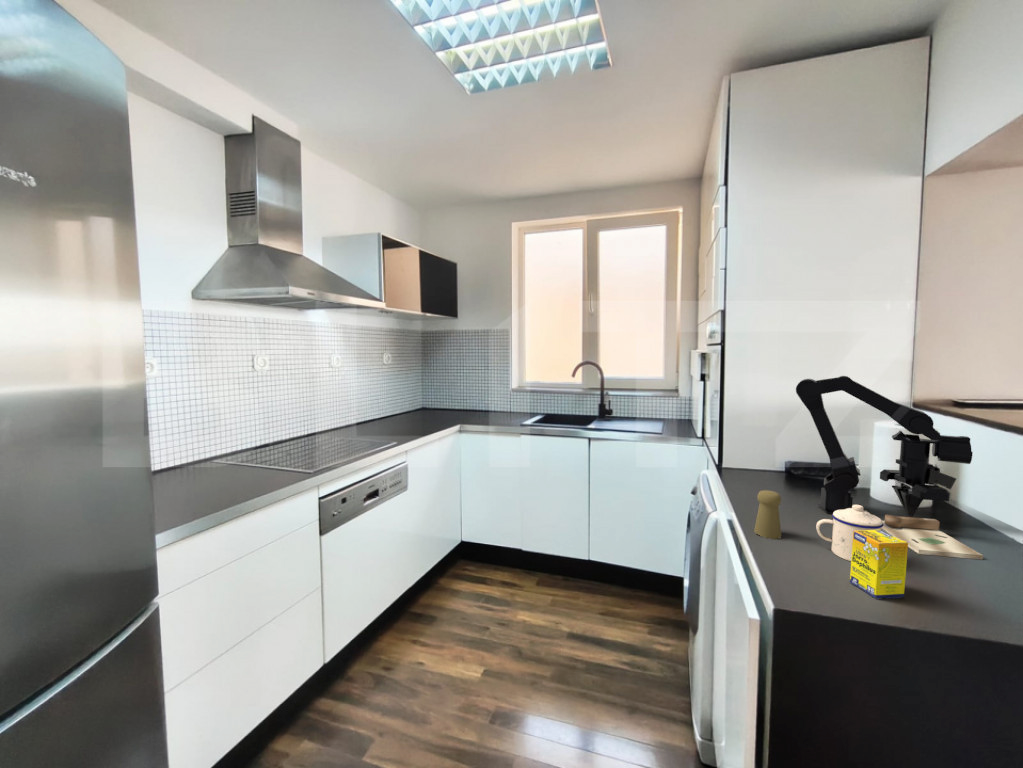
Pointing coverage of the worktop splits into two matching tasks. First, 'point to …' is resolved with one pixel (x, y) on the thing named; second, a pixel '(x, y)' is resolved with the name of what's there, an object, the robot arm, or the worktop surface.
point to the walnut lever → (911, 522)
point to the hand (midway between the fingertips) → (910, 515)
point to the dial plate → (932, 542)
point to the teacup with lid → (848, 528)
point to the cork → (768, 515)
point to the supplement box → (878, 563)
